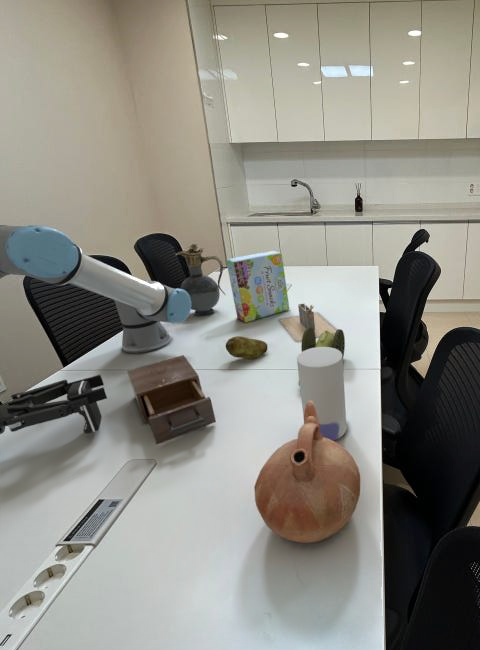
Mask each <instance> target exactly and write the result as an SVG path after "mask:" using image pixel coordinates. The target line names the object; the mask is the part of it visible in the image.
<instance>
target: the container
mask: <svg viewBox="0 0 480 650" xmlns="http://www.w3.org/2000/svg"><path fill="white" fill-rule="evenodd" d="M296 362H297V363H296V364H297V371H298V383H299V382H300V386H299V390H300V398H301V406H302V415H303V418H304V412H305V407H306V404H307V402H308V401H313V403H314V406H315V410H316V413H317V418H318V422H319V426H320V433H321V435H322V437H324V438H327V439H330V440H332V441H334V442H335V441H336V440H338V439H340V438H342V437H343V436H344V435H345V433H346V432H347V430H348V429H347V428H348V426H347V411H346V410H347V409H346V392H345V379H344V378H345V377H344V357H343V358H342V353H341V352H340V351H339V350H337V349H335V348H331V347H316V348H311V349H308V350H305V351H303V352H302V351H301V352H300V353H299V354H298V355H297V357H296Z"/></svg>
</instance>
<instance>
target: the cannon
mask: <svg viewBox="0 0 480 650" xmlns="http://www.w3.org/2000/svg"><path fill="white" fill-rule="evenodd" d="M316 347H331V348H335V349H337V350H339V351H340V352H341V353H342V358H343V359H344V355H345V348H346V341H345V333H344V330H343V329H340V328H338V329H336V332H335V333H334V334H333V333H332V332H329V331H327V330H326V331H325V332H323V333H322V334H321V335H320V337H318V339H317V337H316V335H315V332H314V330H313V328H306V330H305V331H304V334H303V337H302V340H301V349H300V350H301V353H302V352H303V351H305V350H308V349H311V348H316ZM298 386H299V387H300V382H299V381H298Z"/></svg>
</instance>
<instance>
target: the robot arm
mask: <svg viewBox="0 0 480 650" xmlns="http://www.w3.org/2000/svg"><path fill="white" fill-rule="evenodd" d="M10 275H16V276H24V277H30V278H33V279H36V280H39V281H41V282H45V283H48V284H50V285H53V286H58V287H59V286H65V285H67V284H69V285H71V286H74V287H77V288H80V289H82V290H85V291H89V292H92V293H94V294H96V295H100V296H103V297H106V298H108V299H111V300H113V301H114V304H115V307H116V311H117V313H118V316H119V319H120V322H121V326H122V340H121V346H122V349H123V351H124V352H126V353H129V354H141V353H142V354H143V353H148V352H152V351H155V350H158V349H161V348H163V347H165V346H167V345H168V344H170V341H171V337H170V334H169V330H166V328H165V327H164V325H163V324H162V323H169V324H181V323H183V322H185V320H187V319H188V317H189V316H190V314H191V310H192V309H191V300H190V296H189V294H188V293H187V292H186V291H185V290H182V289H180V288H181V287H180V288H179V287H177V288H173V287H170V286H167V285H166V284H163V283H160V282H159V281H156V280H151V281H149V280H147V279H146V280H145V279H140V278H139V277H136V276H133V275H131V274H129V273H127V272H125V271H122V270H120V269H117V268H116V267H113V266H111V265H109V264H107V263H104V262H102V261H101V260H98V259H95V258H93V257H91V256H89V255H87V254H84V253H83V250H82V248H81V247H80V246H79V245H78V244H76V243H75V242H74V241H73V240H72V238H71V237H69V236H68V235H66V233H64V232H62V231H60V230H58V229H55V228H52V227H50V226H49V227H48V226H44V225H7V224H0V280H1V279H2V278H4V277H6V276H10ZM82 381H88V382H89V383H90V385H91V388H92V391H89V392H85V393H82V394H78V395H75V396H71V397H69V399H70V401H69V400H67V399H64V400H58V401H53V400H56V399H59V398H61V397H63V396H67V394H68V391H69V389H70V387H71V385H72V384H74V383H78V382H82ZM103 386H105V384H104V381H103V378H102V374H96V375H93V376H89V377H86V378H85V377H84V378H82V379H78V380H74V381H71V382H68V380H67V379H63V380H60V381H56V382H53V383H49V384H46V385H42V386H40V387H36V388H33V389H30V390H25V391H23V392H18V393H14V394H12V395H10V397H11V399H12V400H9V401H7V402H6V401H5V402H4V403H0V435H2V434H3V433H4V432H5V431H6V427H8V428H9V430H10V432H11V433H14V432H17V431H19V430H22V429H24V428H28V427H32V426H35V425H39V424H43V423H47V422H50V421H54V420H58V419H62V418H65V417H69V416H71V415H73V414H75V413H74V411H73V409H74V408H78V407H81V406H84V405H88V404H91V403H94V402H97V403H98V402H100V401H104V400H107V399H108V396H107V393H106V391H105V388H104V387H103ZM51 401H52V402H51Z"/></svg>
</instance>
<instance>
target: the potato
mask: <svg viewBox="0 0 480 650" xmlns="http://www.w3.org/2000/svg"><path fill="white" fill-rule="evenodd" d="M225 350H226V352H228V354H229V355H230V356H232V357H234V358H237V359H238V358H239V359H244V360H254V359H257V358H259V357H261V356H263V355H265V354H266V353H267V352H268V343H267V342H265V340H261V339H256V338H250V337H246V336H241V335H240V336H233V337H231V338H229V339H227V341H226V342H225Z"/></svg>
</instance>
